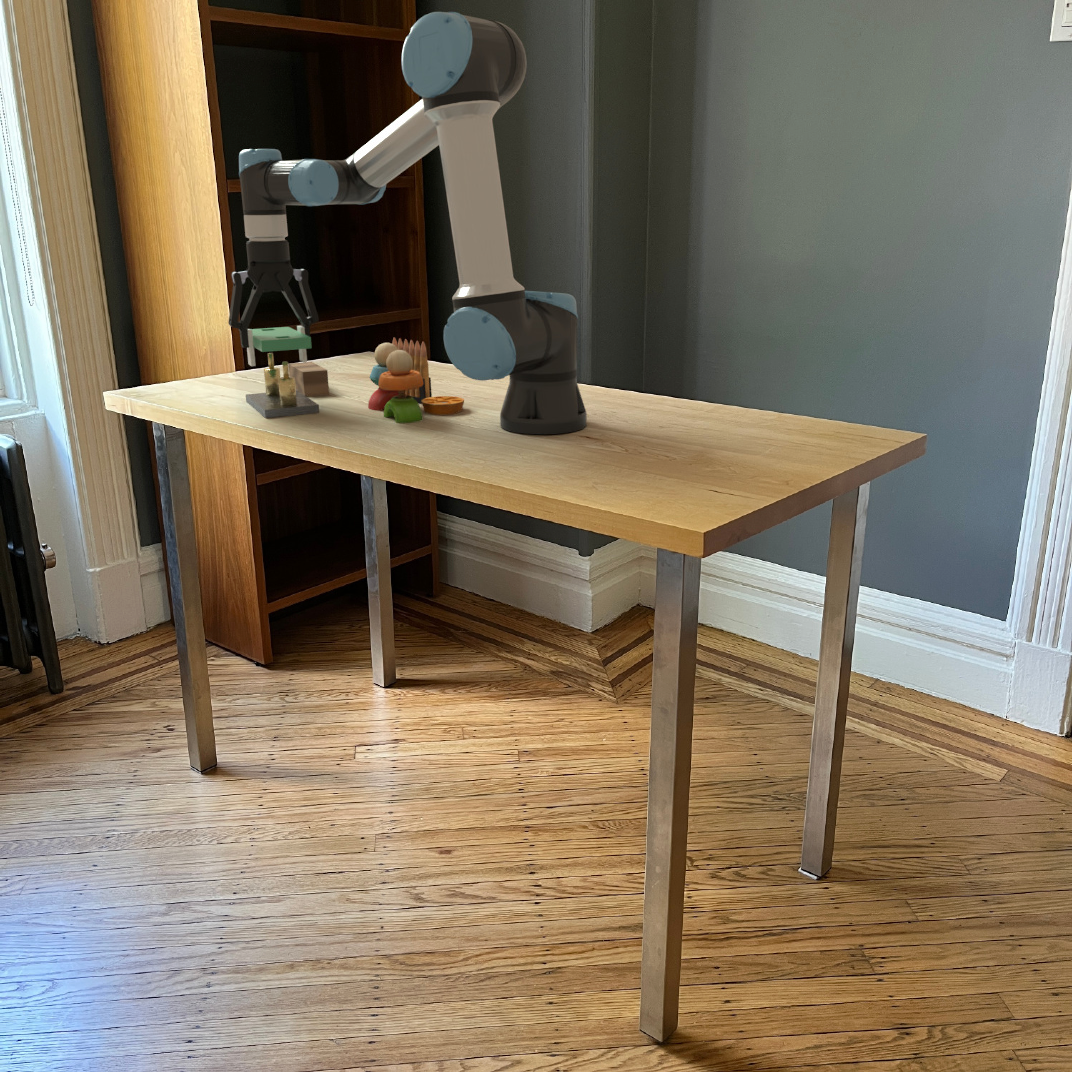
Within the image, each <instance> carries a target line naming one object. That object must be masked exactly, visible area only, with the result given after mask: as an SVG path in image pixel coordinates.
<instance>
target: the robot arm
mask: <svg viewBox="0 0 1072 1072" xmlns="http://www.w3.org/2000/svg"><path fill="white" fill-rule="evenodd" d="M527 62H528V60H527V55H526V50H525V47H524V44H523V42H522V41H521V39H520V38H519V36H518V35H517V33H516V32H515V31H514V30H513V29H512V28H511V27H509V26H507V25H506V24H504V23H502V22H499V21H496V20H490V19H485V18H478V17H474V16H471V15H465V14H464V15H463V14H461V13H459V12H455V11H447V12H446V11H445V12H444V11H433V12H430V13H428V14H424V15H423V16H422V17H420V18H418V20H417V21H416V22H414V24H413V25H412V26H411V28H410V32H409V34H408V35H407V36H406V37H405V40H404V43H403V46H402V52H401V70H402V74H403V77H404V81H405V82H406V84H407V86H409V87H410V88H411V89H412V91H413V92H414V93H415V94H417V95H418V96H419V97H421V99H420V100H419V101H418V102H416V103H415V104H413V105H412V106H411V107H410V108H409V109H407V110H406V111H405V112H404V113H402V115H400V116H398V118H396V119H395V120H394V121H392V122H391V123H389V125H387V126H386V127H385V128H384V129H383V130H381V131H380V132H379V133H378V134H376V135H375V136H374V137H373V138H371V139H370V140H369V141H368V142H367V143H366V144H364V145H362V146H361V147H360V148H359V149H358V150H356V151H355V152H354V153H353V154H352V155H350V156H348V157H347V158H346V159H343V160H323V159H317V158H304V159H303V158H302V159H292V160H283V158H282V153H281V151H280V150H279V149H275V148H257V149H256V148H255V149H253V148H249V149H242V150H241V151H240V152H239V153H238V154H239V155H238V170H239V171H238V176H239V181H240V182H239V183H240V191H241V192H240V193H241V200H242V212H243V221H244V222H243V223H244V232H245V233H244V235H245V238H247V239H249V240H248V241H246V243H245V244H246V254H247V255H246V256H247V267H246V270H244V271H238V272H237V271H232V272H231V275H230V276H231V281H232V284H233V285H232V291H231V292H232V294H231V301H230V309H229V315H228V316H229V317H228V326H229V327H231V328H234V329H238V331H239V337H240V338H239V339H240V346H241V348H243V349H246V352H247V353H246V354H247V362H248V363H247V364H248V365H249V366H250V367H256V356H255V347H254V345H253V333H252V330H250V329H251V328H249V327H250V324H251V321H252V319H253V316H254V314H255V311H256V309H257V306H258V303H259V301H260V299H261V297H262V295H263V293H270V292H279V293H280V292H281V293H282V294H283V296H284V298H285V299H286V301H287V303H288V304H289V306H290V307H291V309H292V311H293V313H294V315H295V316H296V318H297V319H298V321H299V323H300V325H296V331H298V332H300V333H303V334H305V335H307V336H309V337H311V325H313V324H315V323H318V322H319V321H320V318H319V315H318V314H319V313H318V311H317V309H316V305H315V301H314V297H313V295H312V291H311V288H310V285H309V271H308V270H307V269H304V268H300V269H296V268H293V267H292V265H291V256H290V255H291V254H290V246H289V245H290V244H289V242H288V240H287V239H285V238H286V237H288V236H289V231H288V223H287V222H288V221H287V220H288V219H287V209H286V206H306V207H318V206H326V205H327V206H328V205H363V206H364V205H366V204H370V203H371V204H372V203H376V202H378V201H379V200H380V199H381V198H383V196H384V193H385V191H386V190H387V189H386V187H387V184H388V183H389V182H391V181H393V180H394V179H395V178H396V177H398V176H399V175H401V173H403V172H404V171H406V170H407V169H408V168H409V167H411V166H413V165H414V164H415V163H417V162H418V161H420V159H422V158H423V157H425V156H426V155H428V154H429V153H430V152H431V151H433V150H434V149H436V148H437V147H438V146H439V152H440V160H441V166H442V173H443V179H444V186H445V192H446V200H447V206H448V212H449V220H450V227H451V235H452V241H453V247H454V253H455V261H456V267H457V275H458V281H459V287H458V288H457V290H456V292H455V293H454V294H453V296H452V298H451V299H452V305H453V306H452V307H453V313H451V315H450V316H449V317H448V318H447V323H446V324H445V325H444V327H443V344H444V349H445V352H446V354H447V356H448V359H449V360H450V362H451V364H452V365H453V366H454V367H455V369H457V370H458V371H460V373H462V374H463V376H465V377H467V378H469V379H472V380H475V381H479V382H480V381H485V382H486V381H493V380H502V379H504V378H506V377H508V376H509V383H508V387H507V389H506V393H505V396H504V400H503V403H502V407H501V411H500V413H499V414H500V415H499V416H500V417H499V421H500V422H499V424H500V425H499V426H500V427H501V429H503V430H504V431H505V430H506V431H508V432H513V433H517V434H525V435H526V434H528V435H557V434H559V435H560V434H567V433H572V432H577V431H580V430H582V429H584V428H586V427H587V419H588V418H587V416H588V415H587V410H586V408H585V407H586V406H585V404H584V400H583V398H582V397H583V396H582V394H581V391H580V388H579V385H578V381H577V380H578V379H577V378H578V377H577V375H578V374H577V373H578V372H577V367H578V362H577V359H578V354H577V352H578V351H577V350H578V320H579V314H578V310H577V301H576V298H575V297H574V295H572V294H569V293H563V292H549V291H537V290H536V291H533V290H525V287H524V286H523V285H522V284H520V283H519V282H518V281H517V280H516V279H515V278H514V272H513V265H512V257H511V249H510V244H509V235H508V227H507V220H506V213H505V205H504V198H503V197H504V196H503V190H502V183H501V176H500V167H499V161H498V160H499V159H498V154H497V146H496V138H495V131H494V123H493V118H494V116H495V114H496V113H497V111H498V110H500V109H501V108H502V106H504V105H505V104H507V103H508V102H510V100H511V99H512V98H513V97H514V96H515V95H516V94H517V93H518V91H519V90H520V89H521V86H522V85H523V82H524V80H525V78H526V77H525V76H526V73H527V64H528V63H527ZM293 276H294V278H295V280H296V281H298V285H299V289H300V293H301V295H302V298H303V299H302V300H303V301H304V305H305V308H306V311H307V314H308V316H307V315H306V313H305V312H304V310H303V308H302V307H301V305H300V304H299V302H298V300H297V297H296V296H295V294H294V293H293V291H292V288H291V287H290V285H289V283H290V281H291V279H292V277H293ZM247 278H248V279H249V280H250V282H252V284H253V287H252V289H251V292H250V295H249V298H248V301H247V303H246V306H245V308H244V311H243V314H242V316H241V318H240V317H239V316H240V312H241V311H240V310H241V302H242V294H243V285H244V284H245V283H246V279H247ZM239 318H240V320H239ZM307 354H308V353H307V349H298V355H299V361H300V362H301V363H303V362H308V355H307Z"/></svg>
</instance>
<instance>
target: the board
mask: <svg viewBox="0 0 1072 1072" xmlns="http://www.w3.org/2000/svg"><path fill="white" fill-rule="evenodd" d="M249 329H250V330H252V333H253V345H254V349H257V350H258V351H260V352H262V353H264V352H265V353H266V352H267V353H268V352H278V351H279V352H280V351H290V350H291V351H292V350H294V351H295V350H299V349H306V350H307V349H309V350H310V349H312V337H311V336H310V337H309V336H307V335H305V334H303V333H300V332H298V331H297V329H294V328H292V327H290V326H281V327H280V326H279V327H267V328H266V327H265V328H253V329H252V328H249Z"/></svg>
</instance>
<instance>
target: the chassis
mask: <svg viewBox="0 0 1072 1072" xmlns="http://www.w3.org/2000/svg"><path fill="white" fill-rule="evenodd" d="M267 361H268V367H266V368H263V376H264V388H265V392H260V393H249V394H245V401H246V403H247V404H248V405H250V406H251V407H252V408H253V409H254V410H255V411H256V412H257V413H259V415H261V416H262V417H263V418H264V419H269V418H270V419H271V418H272V419H273V418H280V417H281V418H282V417H292V416H299V415H308V414H319V413H320V405H319V403H317V402H315V401H314V400H312V399H310V397H309V396H305V395H303V394H302V393H300V392H299V391H297V390H296V386H295V378H294V377H289V367H288V364H289V361H282V363H281V364H282V372H283V374H282V375H283V377H281V370H280V369H281V368H280V367H275V361H274V353H273V352H269V353H268V352H267Z"/></svg>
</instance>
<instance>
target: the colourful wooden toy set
mask: <svg viewBox="0 0 1072 1072" xmlns="http://www.w3.org/2000/svg"><path fill="white" fill-rule="evenodd" d="M374 360H375V362H376V363H377V364H375V365H373V366H372V369H371V372H370V374H369V380H370V381H371V382H372V383H374V385H376V386H377V387H378V389H376V390H375V391H374V392H372V394H371V395H370V397H369V400H368V404H367V407H368V409H369V410H371V411H375V412H380V411H381V412H382V411H383V410H384V411H383V418H389V417H390V418H391V417H394V420H395V423H397V424H408V423H409V424H410V423H417V422H421V421H423V419H424V418H423V413H422V409H421V407H420V404H419V403H418V402H417V401H416V400H415V399H413V397H412V396H408V395H406V394H405V391H406V390H411V389H416V388H419V387H421V386H423V378H422V376H421V374H420V373H419V372H418V371H414V370H411V369H412V367H413V360H412V358H411V356H410V355H409V354H408V353H407V352H406V351H403V350H398V348H397V347H396V346H395V345H393V344H392V343H390V342H383V343H381V344H378V346H377V347H376V348H375V351H374ZM421 402H422V404H421V405H422V407H423V411H424V413H426V414H428V415H439V416H442V415H445V416H446V415H454V414H458V413H461V412H462V411H463V407H464V403H465V399H464V398H463V397H459V396H452V395H437V396H432V397H429V398H425V399H423V400H422V401H421Z"/></svg>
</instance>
